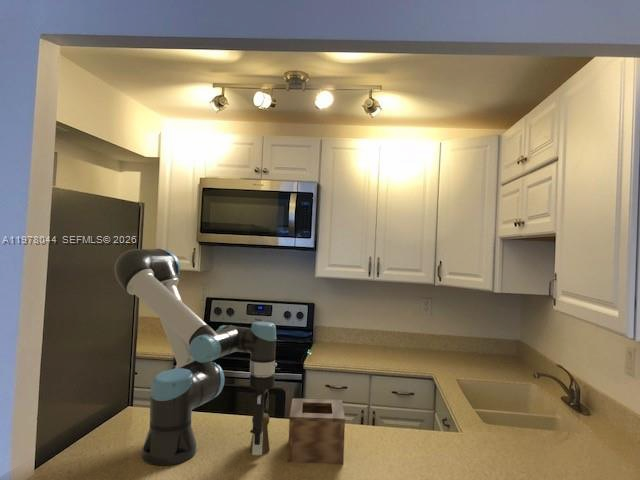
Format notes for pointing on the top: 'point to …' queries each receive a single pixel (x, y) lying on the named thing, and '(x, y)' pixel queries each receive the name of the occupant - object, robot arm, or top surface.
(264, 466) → the top surface
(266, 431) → the cork
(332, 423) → the walnut box
